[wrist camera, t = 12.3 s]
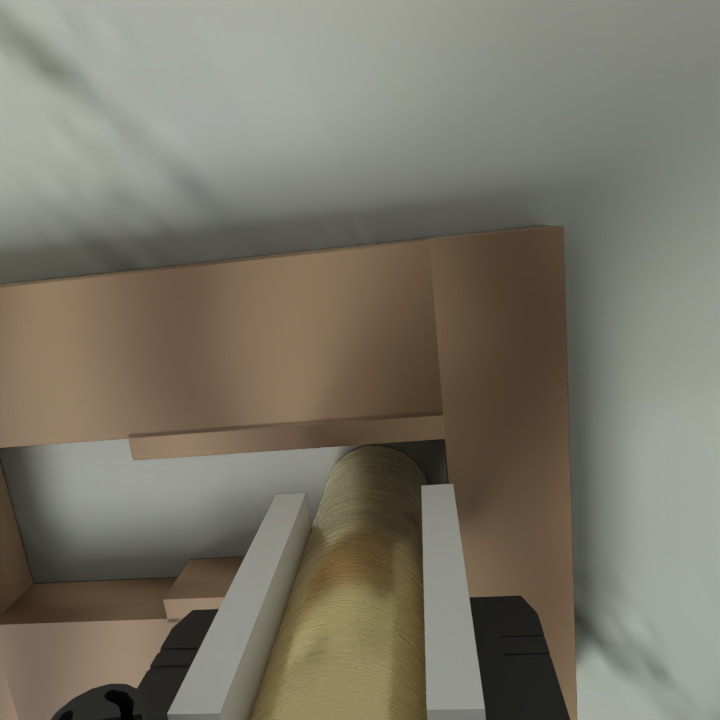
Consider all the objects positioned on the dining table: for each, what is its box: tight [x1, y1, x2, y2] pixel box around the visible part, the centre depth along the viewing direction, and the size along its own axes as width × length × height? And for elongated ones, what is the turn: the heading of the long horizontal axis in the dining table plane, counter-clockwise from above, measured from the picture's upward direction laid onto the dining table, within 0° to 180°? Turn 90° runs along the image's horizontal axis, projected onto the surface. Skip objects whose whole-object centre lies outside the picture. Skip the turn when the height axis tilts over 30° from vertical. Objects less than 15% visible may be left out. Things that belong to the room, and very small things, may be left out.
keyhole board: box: [0, 225, 577, 720], centre depth 17 cm, size 20×14×2 cm
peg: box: [249, 446, 428, 720], centre depth 12 cm, size 3×3×12 cm
